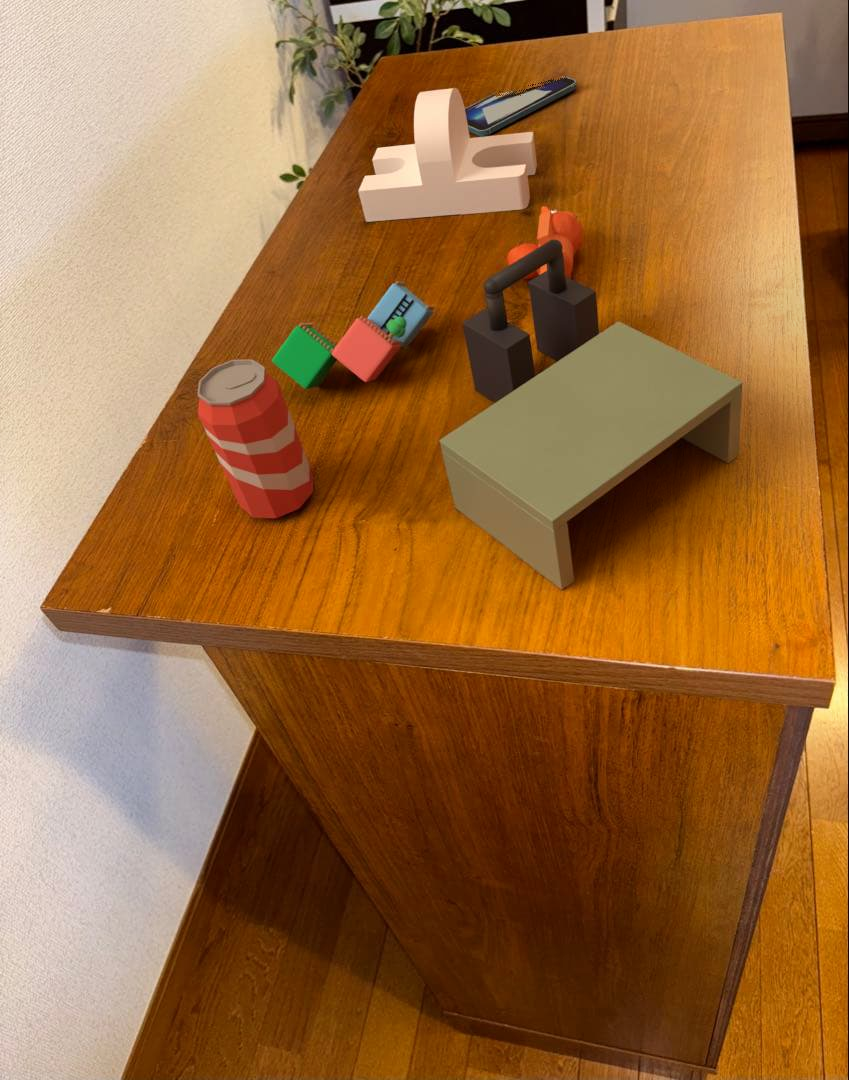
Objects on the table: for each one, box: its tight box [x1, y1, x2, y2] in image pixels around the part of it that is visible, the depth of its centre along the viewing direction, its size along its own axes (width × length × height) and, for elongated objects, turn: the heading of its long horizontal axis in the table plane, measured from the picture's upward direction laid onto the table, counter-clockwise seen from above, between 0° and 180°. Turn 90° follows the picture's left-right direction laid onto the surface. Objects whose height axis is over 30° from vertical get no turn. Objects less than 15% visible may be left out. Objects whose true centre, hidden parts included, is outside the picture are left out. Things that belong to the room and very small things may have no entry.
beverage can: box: [197, 358, 314, 519], centre depth 76 cm, size 6×6×12 cm
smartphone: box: [464, 75, 578, 137], centre depth 121 cm, size 7×1×15 cm
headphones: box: [462, 239, 600, 404], centre depth 80 cm, size 6×10×11 cm, turn 128°
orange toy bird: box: [506, 205, 584, 280], centre depth 93 cm, size 5×8×12 cm
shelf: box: [439, 320, 743, 591], centre depth 72 cm, size 12×18×7 cm, turn 128°
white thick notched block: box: [358, 87, 538, 223], centre depth 105 cm, size 18×10×11 cm, turn 79°
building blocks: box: [271, 280, 436, 390], centre depth 88 cm, size 8×8×12 cm
